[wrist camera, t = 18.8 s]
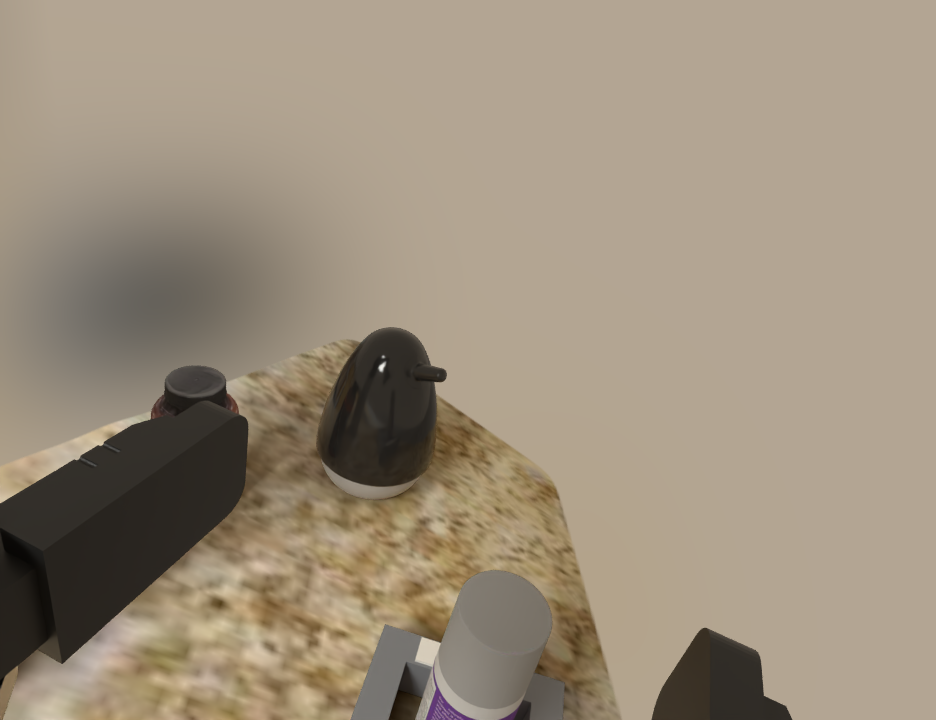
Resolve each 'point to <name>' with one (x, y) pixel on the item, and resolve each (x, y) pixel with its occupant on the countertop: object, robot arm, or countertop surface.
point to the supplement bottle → (192, 391)
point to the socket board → (408, 669)
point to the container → (488, 650)
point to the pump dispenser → (381, 417)
